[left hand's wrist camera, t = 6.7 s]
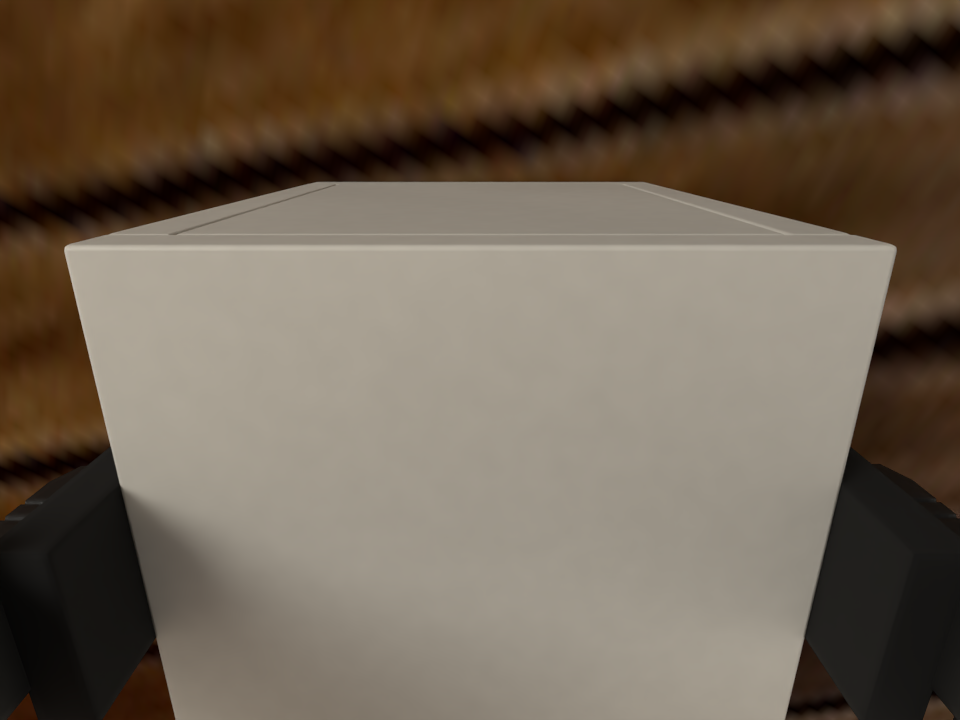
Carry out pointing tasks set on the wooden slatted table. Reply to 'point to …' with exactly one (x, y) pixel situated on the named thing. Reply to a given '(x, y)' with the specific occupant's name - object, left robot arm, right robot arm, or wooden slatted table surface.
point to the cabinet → (480, 445)
